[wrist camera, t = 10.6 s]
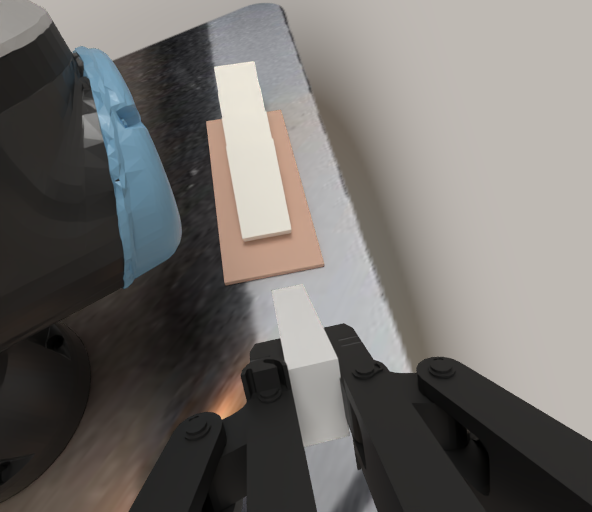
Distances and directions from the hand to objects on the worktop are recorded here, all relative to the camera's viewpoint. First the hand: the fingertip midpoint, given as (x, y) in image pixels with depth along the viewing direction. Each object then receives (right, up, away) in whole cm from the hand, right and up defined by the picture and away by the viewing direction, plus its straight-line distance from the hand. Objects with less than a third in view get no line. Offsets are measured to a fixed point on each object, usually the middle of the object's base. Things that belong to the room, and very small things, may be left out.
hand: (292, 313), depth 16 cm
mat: (-4, +11, +24) cm, 27 cm away
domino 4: (-3, +5, +19) cm, 20 cm away
